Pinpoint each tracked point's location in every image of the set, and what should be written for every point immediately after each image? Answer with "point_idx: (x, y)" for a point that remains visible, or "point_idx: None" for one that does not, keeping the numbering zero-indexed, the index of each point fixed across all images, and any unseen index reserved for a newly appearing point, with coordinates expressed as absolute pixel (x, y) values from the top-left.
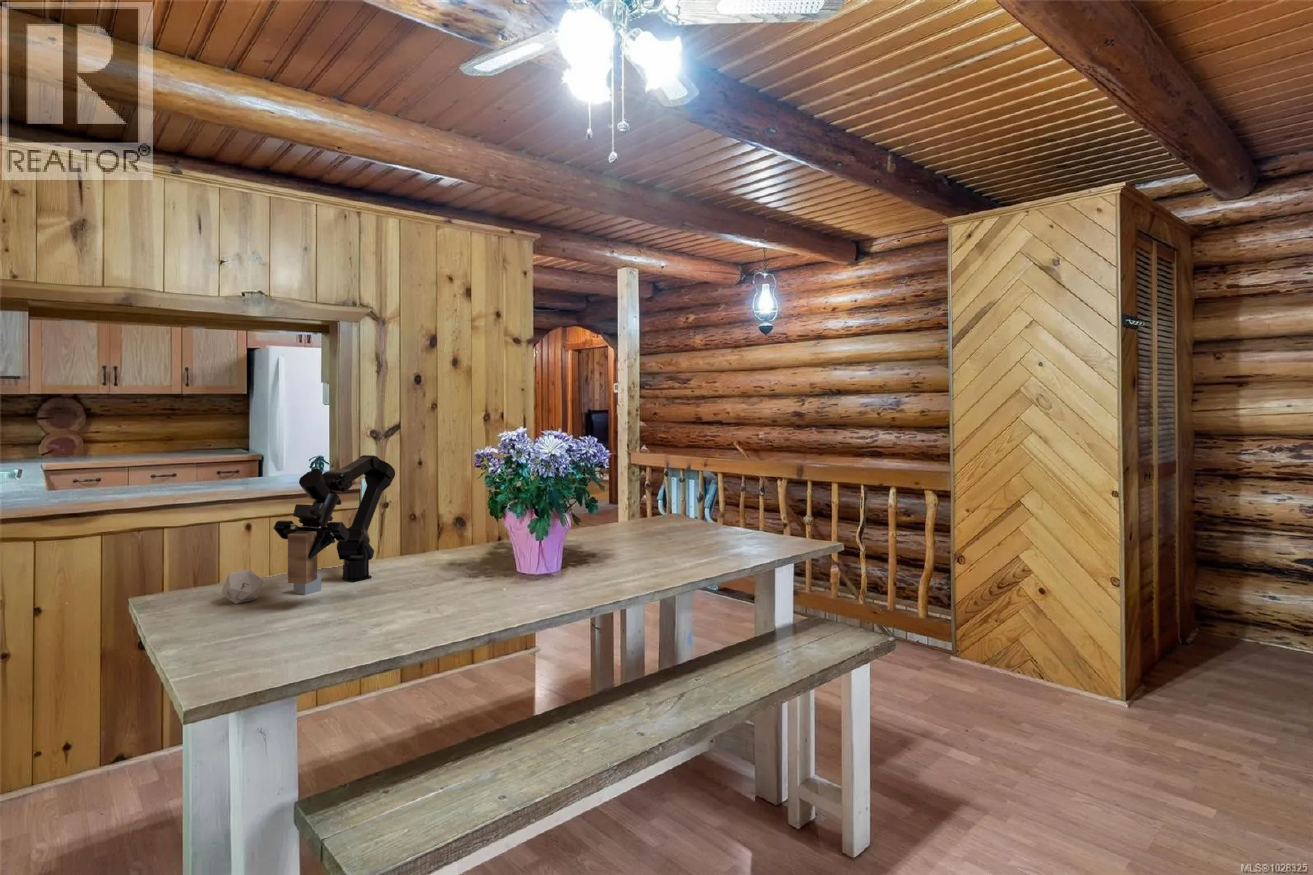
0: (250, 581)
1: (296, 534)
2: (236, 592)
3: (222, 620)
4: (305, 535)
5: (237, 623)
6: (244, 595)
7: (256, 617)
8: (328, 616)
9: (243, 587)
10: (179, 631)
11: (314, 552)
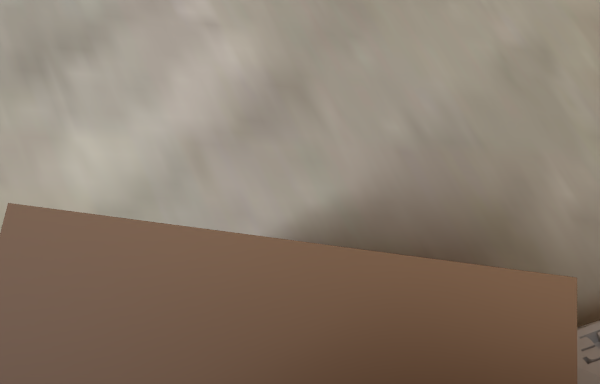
0: (595, 381)
1: (365, 332)
2: (596, 322)
3: (482, 118)
4: (35, 227)
5: (407, 80)
6: None
7: (374, 148)
8: (57, 149)
9: (590, 341)
10: (550, 12)
11: None
